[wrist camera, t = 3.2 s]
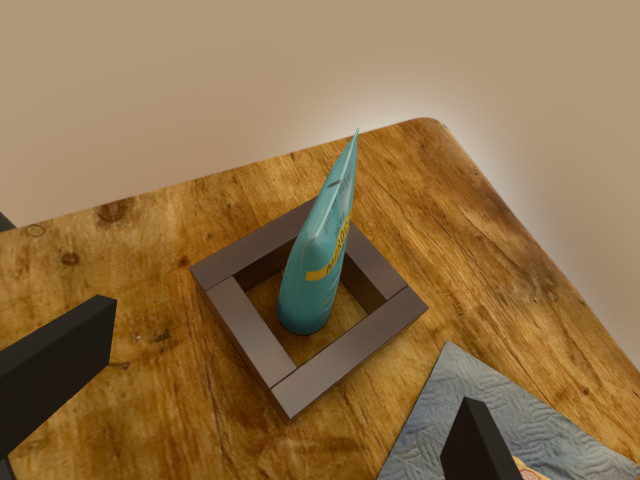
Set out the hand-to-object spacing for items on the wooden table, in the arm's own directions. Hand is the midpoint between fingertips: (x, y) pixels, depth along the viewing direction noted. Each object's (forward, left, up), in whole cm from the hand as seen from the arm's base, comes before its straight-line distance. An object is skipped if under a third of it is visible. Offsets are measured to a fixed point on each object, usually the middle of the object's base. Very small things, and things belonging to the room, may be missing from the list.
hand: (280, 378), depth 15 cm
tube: (-6, +8, -20) cm, 22 cm away
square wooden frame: (-6, +8, -19) cm, 22 cm away
